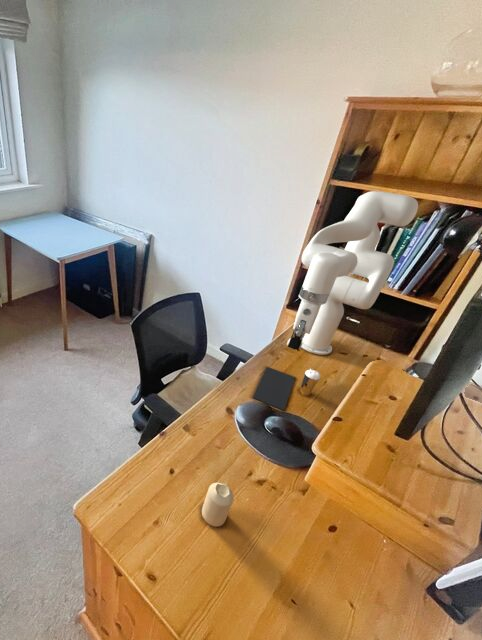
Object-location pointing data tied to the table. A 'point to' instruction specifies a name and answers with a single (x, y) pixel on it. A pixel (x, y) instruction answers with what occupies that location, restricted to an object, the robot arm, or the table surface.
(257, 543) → the table surface
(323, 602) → the table surface
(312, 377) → the milkshake
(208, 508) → the candle
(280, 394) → the felt mat
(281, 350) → the table surface
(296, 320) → the robot arm
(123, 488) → the table surface
